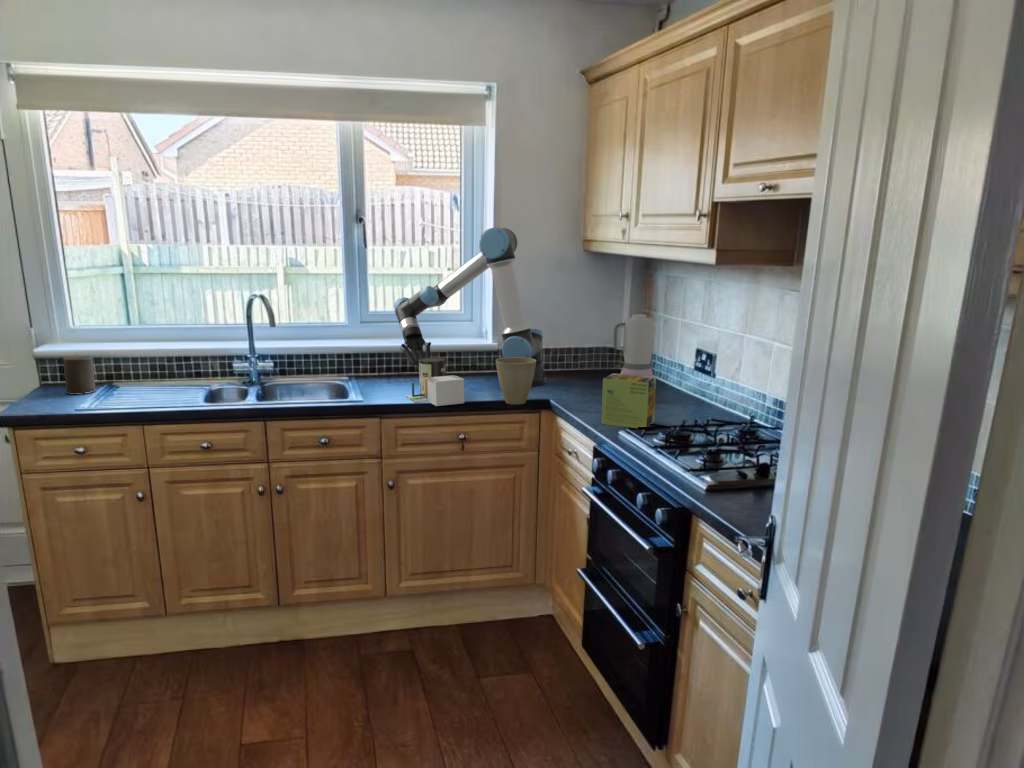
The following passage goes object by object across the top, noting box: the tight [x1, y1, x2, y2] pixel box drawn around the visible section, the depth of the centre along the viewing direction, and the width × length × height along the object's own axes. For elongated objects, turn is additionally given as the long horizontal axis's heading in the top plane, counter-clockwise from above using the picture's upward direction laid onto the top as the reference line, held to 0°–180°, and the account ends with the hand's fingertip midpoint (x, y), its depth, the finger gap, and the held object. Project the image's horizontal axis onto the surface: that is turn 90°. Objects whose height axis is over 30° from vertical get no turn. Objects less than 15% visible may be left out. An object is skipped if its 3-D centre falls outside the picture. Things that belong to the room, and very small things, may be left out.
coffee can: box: [418, 356, 447, 399], centre depth 267 cm, size 10×10×14 cm
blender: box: [613, 313, 657, 377], centre depth 260 cm, size 16×12×32 cm
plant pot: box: [495, 357, 536, 406], centre depth 256 cm, size 15×15×16 cm
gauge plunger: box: [411, 378, 428, 398], centre depth 259 cm, size 16×8×7 cm, turn 118°
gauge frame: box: [405, 374, 465, 407], centre depth 259 cm, size 16×18×9 cm
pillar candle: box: [62, 354, 96, 393], centre depth 268 cm, size 10×10×15 cm
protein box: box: [600, 372, 657, 429], centre depth 227 cm, size 10×15×16 cm
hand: (426, 378), depth 273 cm, fingers closed
